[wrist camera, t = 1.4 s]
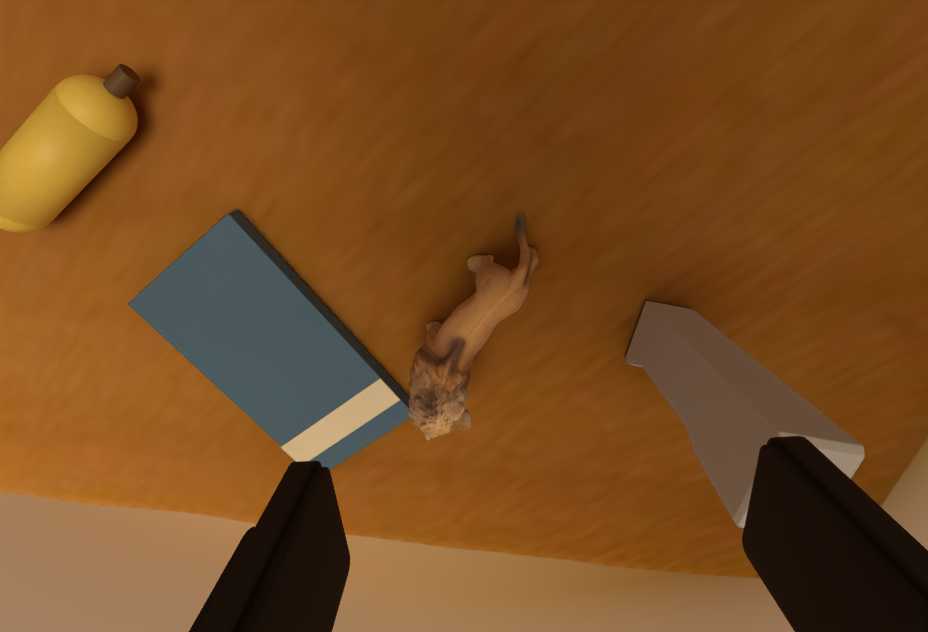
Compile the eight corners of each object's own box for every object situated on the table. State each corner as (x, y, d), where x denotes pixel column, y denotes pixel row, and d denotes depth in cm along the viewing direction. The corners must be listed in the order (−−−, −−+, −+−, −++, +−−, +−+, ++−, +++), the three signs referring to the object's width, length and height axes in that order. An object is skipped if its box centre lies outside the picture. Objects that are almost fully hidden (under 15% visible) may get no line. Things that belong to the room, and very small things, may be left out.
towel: (140, 297, 35) (126, 304, 34) (238, 209, 32) (227, 213, 31) (321, 467, 41) (315, 479, 39) (417, 404, 38) (414, 415, 37)
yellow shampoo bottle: (49, 240, 34) (-7, 254, 30) (-3, 193, 32) (-68, 201, 28) (180, 105, 30) (136, 101, 26) (128, 47, 29) (74, 33, 25)
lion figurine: (464, 390, 37) (462, 463, 29) (404, 365, 37) (384, 433, 28) (552, 227, 32) (580, 261, 24) (485, 195, 32) (489, 217, 23)
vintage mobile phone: (623, 357, 36) (892, 763, 13) (644, 298, 34) (1003, 649, 11) (669, 365, 36) (1015, 780, 13) (692, 307, 34) (1145, 671, 11)
